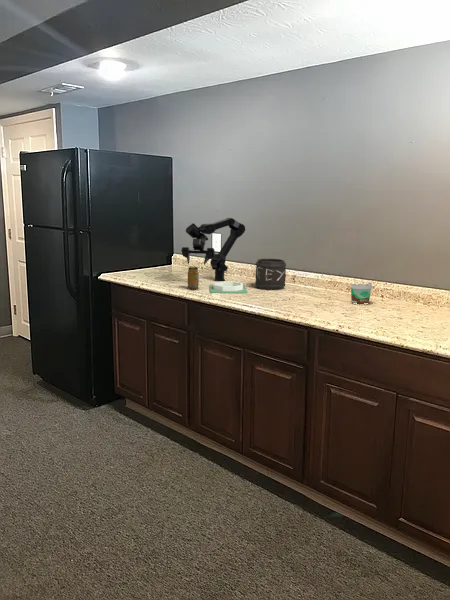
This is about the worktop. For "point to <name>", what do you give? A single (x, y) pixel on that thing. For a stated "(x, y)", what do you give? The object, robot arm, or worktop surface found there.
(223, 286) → the white octagonal fence
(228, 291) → the green mat
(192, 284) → the yellow bottle can
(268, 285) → the lettered dark canister
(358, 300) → the food container
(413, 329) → the worktop surface
